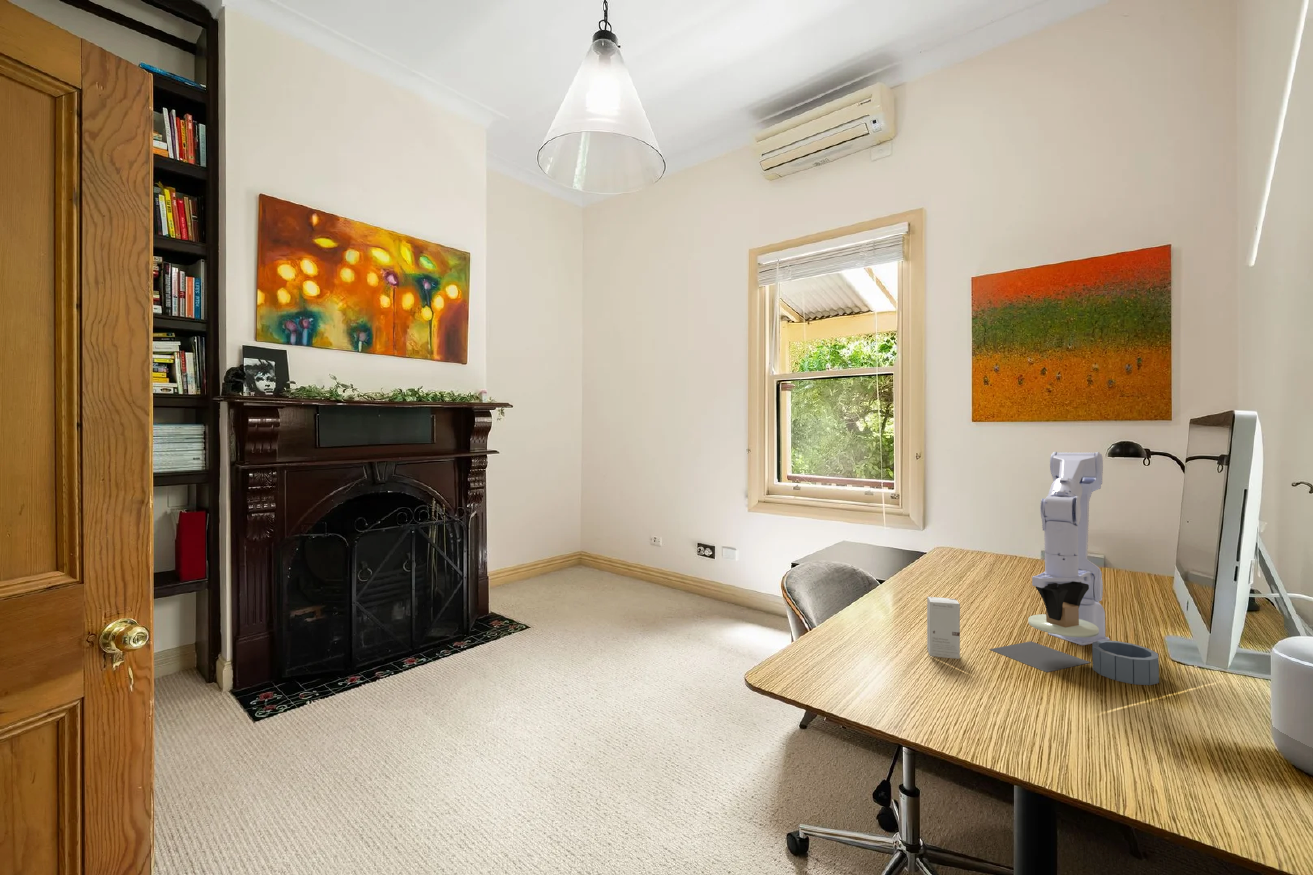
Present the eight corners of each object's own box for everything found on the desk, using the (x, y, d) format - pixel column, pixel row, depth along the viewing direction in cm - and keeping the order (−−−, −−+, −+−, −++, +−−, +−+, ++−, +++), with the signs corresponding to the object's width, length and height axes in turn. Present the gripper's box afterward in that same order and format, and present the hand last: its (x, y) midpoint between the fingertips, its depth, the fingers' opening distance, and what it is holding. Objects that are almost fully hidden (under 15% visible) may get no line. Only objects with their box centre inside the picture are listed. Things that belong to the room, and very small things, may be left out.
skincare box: (930, 657, 121) (928, 601, 121) (926, 649, 125) (925, 596, 125) (961, 660, 119) (960, 603, 119) (957, 652, 124) (956, 597, 124)
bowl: (1114, 661, 117) (1113, 637, 117) (1171, 680, 107) (1170, 655, 107) (1081, 668, 114) (1080, 644, 114) (1137, 689, 104) (1136, 662, 104)
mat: (1031, 642, 128) (1031, 641, 128) (1091, 663, 116) (1091, 662, 116) (989, 650, 124) (989, 649, 124) (1046, 673, 112) (1046, 672, 112)
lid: (1054, 615, 125) (1054, 593, 125) (1113, 632, 113) (1112, 609, 113) (1015, 621, 121) (1014, 599, 121) (1071, 640, 110) (1071, 616, 110)
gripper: (1055, 560, 111) (1056, 627, 111) (1105, 553, 116) (1106, 619, 116) (1022, 553, 118) (1023, 617, 118) (1070, 547, 122) (1071, 609, 122)
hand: (1062, 617), depth 117 cm, fingers closed on lid, 4 cm apart
